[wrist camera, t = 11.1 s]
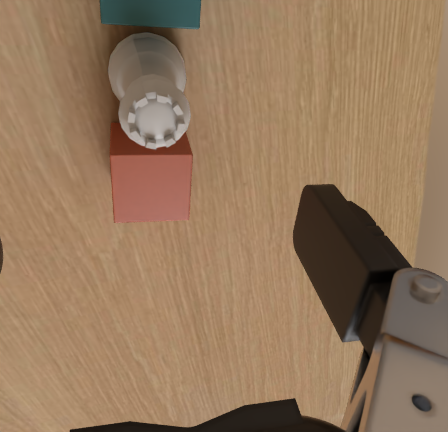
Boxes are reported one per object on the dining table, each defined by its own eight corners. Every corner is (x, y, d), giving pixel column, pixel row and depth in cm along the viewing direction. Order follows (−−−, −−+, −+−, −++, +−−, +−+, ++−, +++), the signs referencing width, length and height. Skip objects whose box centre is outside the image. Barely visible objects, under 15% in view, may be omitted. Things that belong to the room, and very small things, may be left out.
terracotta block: (110, 122, 27) (109, 154, 23) (183, 122, 27) (192, 154, 24) (114, 185, 29) (114, 223, 25) (180, 183, 30) (189, 220, 26)
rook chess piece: (94, 46, 24) (85, 93, 17) (169, 18, 24) (187, 56, 17) (127, 117, 27) (129, 181, 20) (194, 92, 27) (219, 149, 20)
